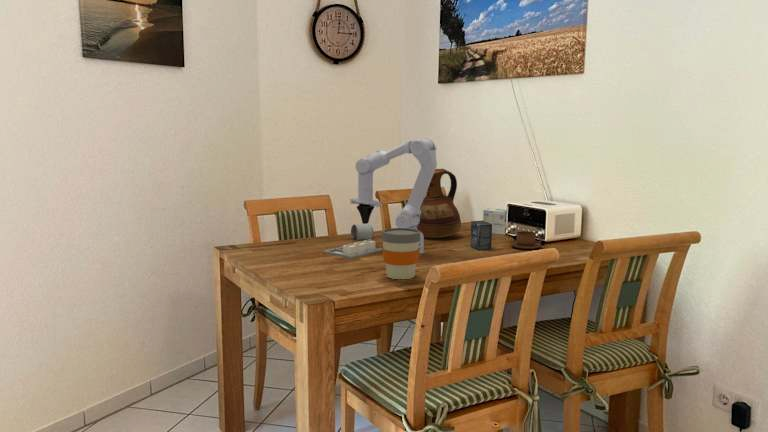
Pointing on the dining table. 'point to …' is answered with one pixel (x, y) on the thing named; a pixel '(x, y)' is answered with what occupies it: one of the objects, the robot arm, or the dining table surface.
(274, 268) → the dining table surface
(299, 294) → the dining table surface
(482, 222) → the box
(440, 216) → the ceramic pitcher
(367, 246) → the white small block
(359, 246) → the tab middle
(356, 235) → the ceramic mug
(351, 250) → the tab
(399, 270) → the reusable coffee cup
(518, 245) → the cup and saucer
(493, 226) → the light bulb box
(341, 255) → the grey flat tray
